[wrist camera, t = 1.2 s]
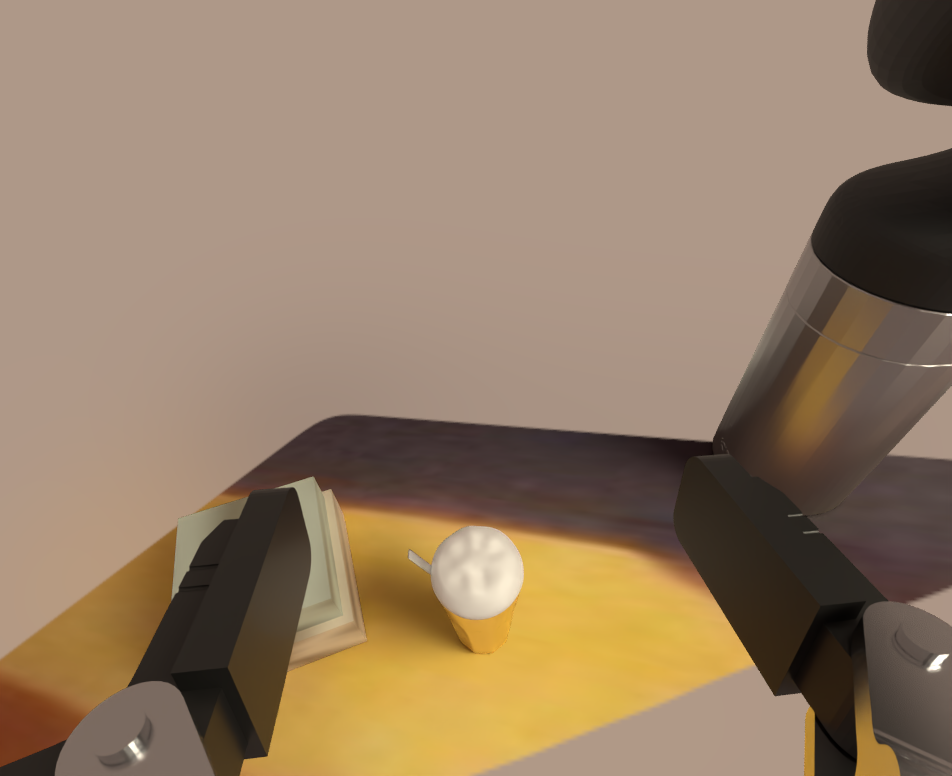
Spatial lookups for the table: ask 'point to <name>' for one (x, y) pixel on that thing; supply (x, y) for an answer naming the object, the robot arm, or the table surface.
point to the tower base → (352, 603)
